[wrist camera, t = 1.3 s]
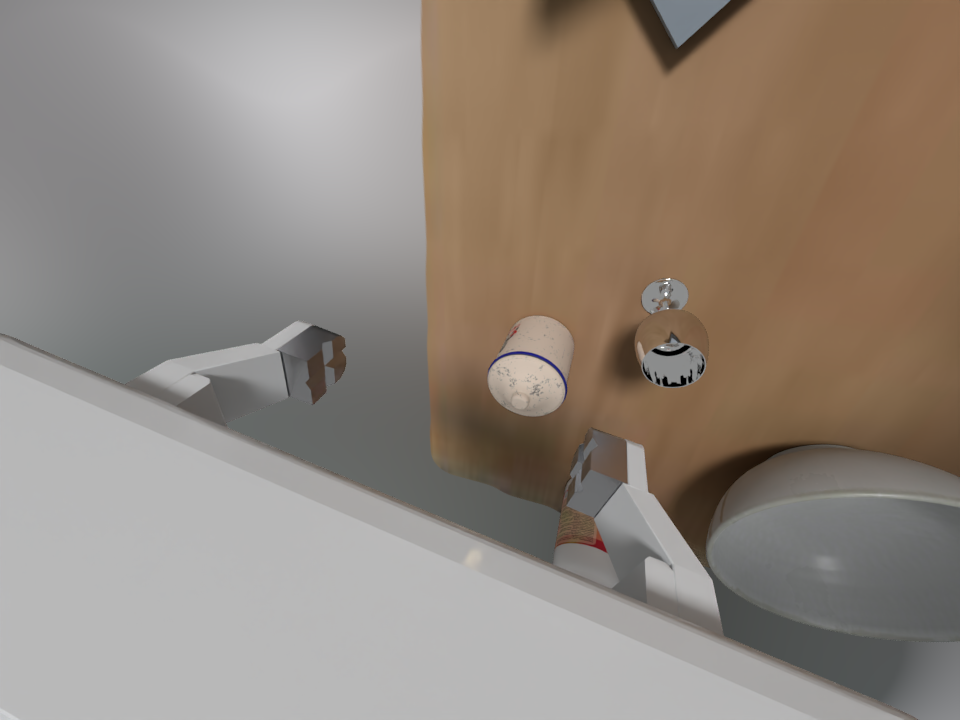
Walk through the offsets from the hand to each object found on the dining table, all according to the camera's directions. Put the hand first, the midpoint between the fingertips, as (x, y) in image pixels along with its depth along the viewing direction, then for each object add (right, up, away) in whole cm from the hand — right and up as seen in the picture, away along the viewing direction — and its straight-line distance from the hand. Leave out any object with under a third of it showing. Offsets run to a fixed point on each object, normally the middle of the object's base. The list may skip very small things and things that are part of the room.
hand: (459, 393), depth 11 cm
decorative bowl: (+43, -14, +34) cm, 57 cm away
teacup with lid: (+9, +2, +36) cm, 37 cm away
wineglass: (+20, +8, +27) cm, 34 cm away
